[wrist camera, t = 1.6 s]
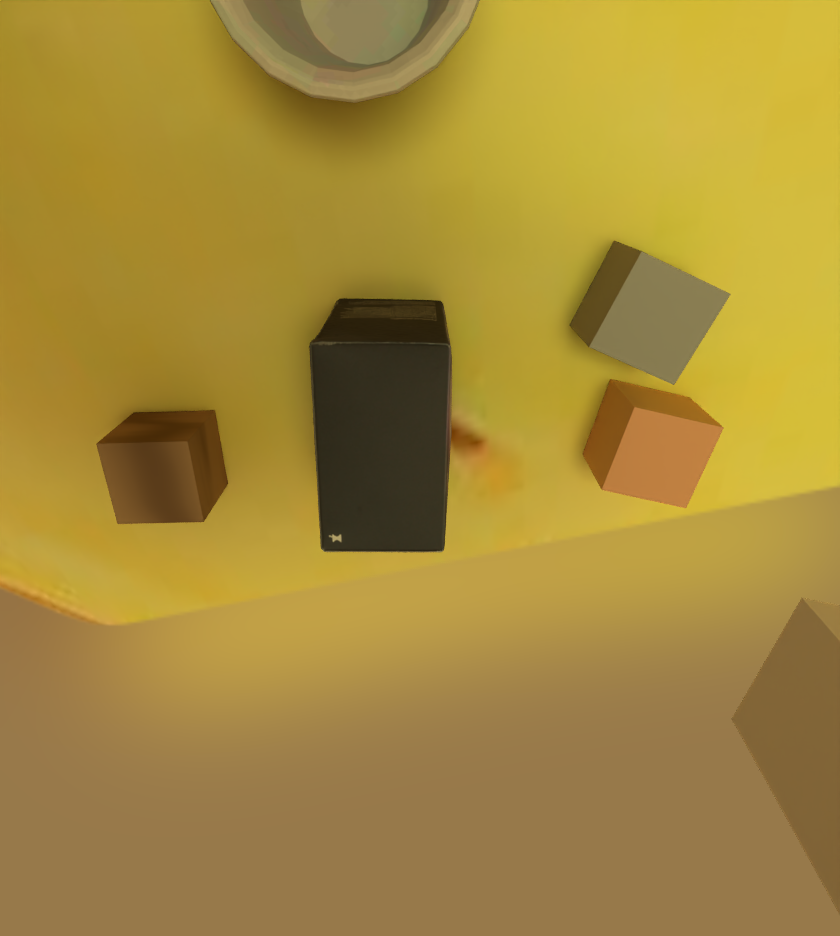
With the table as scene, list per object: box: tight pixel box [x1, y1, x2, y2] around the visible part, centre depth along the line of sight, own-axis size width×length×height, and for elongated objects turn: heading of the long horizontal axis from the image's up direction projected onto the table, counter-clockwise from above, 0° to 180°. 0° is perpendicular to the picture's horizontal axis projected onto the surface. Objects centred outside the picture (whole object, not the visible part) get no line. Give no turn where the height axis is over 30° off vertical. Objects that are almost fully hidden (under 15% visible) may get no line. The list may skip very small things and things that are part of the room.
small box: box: [309, 299, 452, 552], centre depth 34 cm, size 11×6×10 cm, turn 179°
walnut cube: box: [97, 410, 228, 524], centre depth 38 cm, size 5×5×5 cm
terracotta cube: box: [583, 379, 723, 508], centre depth 37 cm, size 5×5×5 cm
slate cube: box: [570, 241, 730, 385], centre depth 34 cm, size 5×5×5 cm
